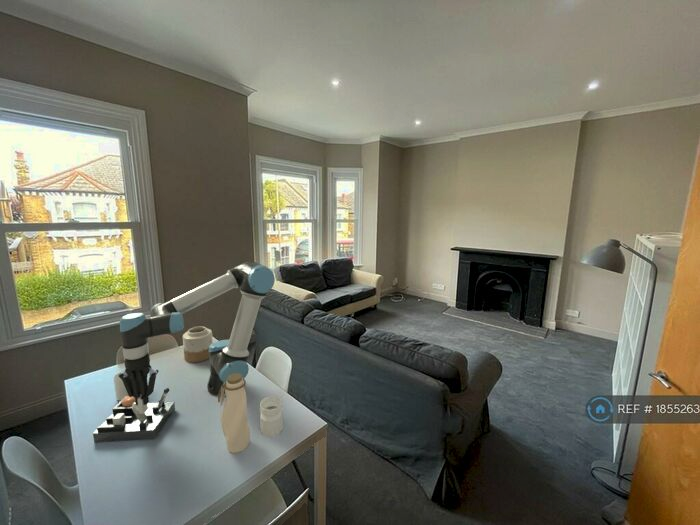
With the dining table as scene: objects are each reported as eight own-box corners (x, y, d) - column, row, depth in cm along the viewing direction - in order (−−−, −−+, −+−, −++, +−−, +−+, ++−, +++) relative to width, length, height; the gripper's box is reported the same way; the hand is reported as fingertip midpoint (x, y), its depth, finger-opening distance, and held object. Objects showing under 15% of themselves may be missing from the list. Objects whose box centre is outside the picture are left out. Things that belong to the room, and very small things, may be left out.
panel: (175, 409, 125) (174, 393, 123) (154, 439, 108) (152, 421, 107) (123, 411, 122) (121, 396, 121) (94, 442, 106) (91, 425, 105)
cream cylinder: (259, 424, 117) (258, 398, 115) (280, 419, 120) (280, 393, 118) (261, 440, 109) (260, 412, 107) (284, 434, 113) (284, 407, 110)
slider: (125, 422, 111) (124, 413, 110) (120, 427, 108) (119, 418, 108) (118, 422, 111) (117, 413, 110) (113, 428, 108) (112, 418, 107)
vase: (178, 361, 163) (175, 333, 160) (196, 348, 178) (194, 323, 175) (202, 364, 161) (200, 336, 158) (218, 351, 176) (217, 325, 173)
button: (140, 403, 121) (139, 394, 120) (133, 411, 116) (131, 402, 115) (127, 403, 120) (126, 395, 119) (120, 411, 115) (119, 403, 115)
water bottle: (222, 459, 100) (217, 388, 95) (220, 441, 108) (215, 374, 103) (252, 449, 105) (249, 380, 100) (248, 432, 113) (245, 367, 108)
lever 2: (164, 403, 121) (171, 387, 120) (160, 408, 118) (168, 391, 117) (159, 402, 120) (166, 385, 119) (155, 406, 118) (163, 389, 117)
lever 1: (148, 417, 112) (138, 399, 110) (144, 422, 109) (134, 404, 107) (144, 419, 112) (133, 401, 110) (139, 424, 109) (128, 406, 107)
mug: (117, 405, 126) (114, 382, 124) (115, 395, 133) (112, 373, 131) (150, 393, 134) (147, 372, 132) (146, 385, 141) (144, 364, 139)
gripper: (160, 349, 110) (166, 404, 114) (124, 350, 108) (131, 405, 113) (149, 359, 102) (156, 417, 107) (110, 360, 101) (118, 419, 105)
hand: (143, 411), depth 110 cm, fingers closed
